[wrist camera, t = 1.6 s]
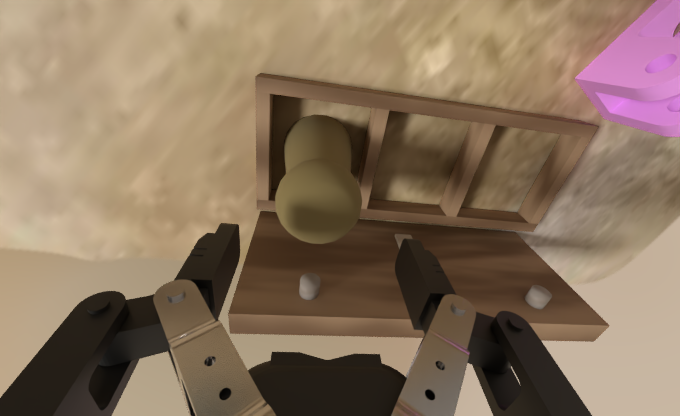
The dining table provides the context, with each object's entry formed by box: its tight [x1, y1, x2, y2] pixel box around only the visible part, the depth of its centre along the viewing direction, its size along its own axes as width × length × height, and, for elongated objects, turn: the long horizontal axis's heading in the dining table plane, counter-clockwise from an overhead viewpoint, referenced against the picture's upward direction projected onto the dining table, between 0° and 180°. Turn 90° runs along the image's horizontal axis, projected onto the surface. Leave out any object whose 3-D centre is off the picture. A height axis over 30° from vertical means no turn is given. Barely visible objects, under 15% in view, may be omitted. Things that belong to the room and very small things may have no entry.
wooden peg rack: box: [228, 73, 609, 341], centre depth 22 cm, size 14×28×12 cm, turn 82°
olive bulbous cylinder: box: [275, 115, 362, 244], centre depth 20 cm, size 6×6×11 cm
